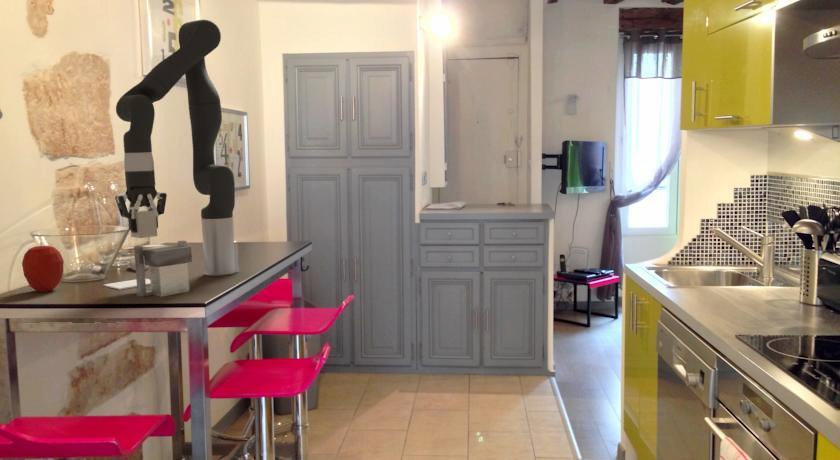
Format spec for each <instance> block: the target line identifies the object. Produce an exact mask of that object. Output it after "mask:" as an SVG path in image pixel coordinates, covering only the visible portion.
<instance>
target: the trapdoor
mask: <svg viewBox="0 0 840 460" xmlns="http://www.w3.org/2000/svg"><path fill="white" fill-rule="evenodd" d="M142 246H143V255H144V264H145V265H148V266H154V267H160V266H167V265H174V264H180V263H187V262H188V263H193V258H192V256H193V255H192V246H188V245H187V246H181V245H178V244H177V245H166V244H159V243H154V244H146V245H145V244H144V245H142ZM121 252H122V253H127V254H133V255H135V253H134V246H129V247H122V248H121Z"/></svg>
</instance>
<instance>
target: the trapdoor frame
mask: <svg viewBox="0 0 840 460" xmlns="http://www.w3.org/2000/svg"><path fill="white" fill-rule="evenodd" d="M177 245H181V246H188V245H187V240H177ZM143 246H144V245H136V246H133V247H134V253H135V254H134V258H135V267H136V271H135V279H136V280H137V287H136V292H135V295H136V297H137V296H138V297H141V298H142V297H147V296H152V295H153V296H157V297H167V296H173V295H178V294H184V293H189V292H190V289H191V288H192V287H191V284H190V279H189V275H190V274H189V262H187V263H180V264H174V265H167V266H160V267H154V266H149V277H150V281H151V285H150V289H148V290H147V285H146V283H145V279H146V272H145V271H146V270H145V269H144V255H143Z"/></svg>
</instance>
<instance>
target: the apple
mask: <svg viewBox="0 0 840 460" xmlns="http://www.w3.org/2000/svg"><path fill="white" fill-rule="evenodd" d="M21 264H22V265H21V266H22V271H23V277H24V278H25V280H26V281H27V284H28V286H29V287H31V289H33V290H34V291H36V292H39V293H47V292H51V291H53V290H54V289H55V288H56V287H57V286H59V285H60V283H61V280H62V277H63V275H64V258H63V256H62V254H61V251H59V250H58V249H57V248H56V247H54V246H52V245H42V243H40V245H39V246H38V245H37V246H33V247H31V248H28V249H27V251H25V253H24V255H23V258H22V261H21Z"/></svg>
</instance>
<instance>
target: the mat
mask: <svg viewBox="0 0 840 460" xmlns="http://www.w3.org/2000/svg"><path fill="white" fill-rule="evenodd" d="M145 283H146V286H151V281H150V279H149V278H145ZM102 286H104V287H106V288H110V289H115V290H117V291H118V290H119V291H121V290H126V289H127V290H128V289H133V288H137V280H136V278H135V279H131V280H124V281H118V282H112V283H106V284H103V285H102Z"/></svg>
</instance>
